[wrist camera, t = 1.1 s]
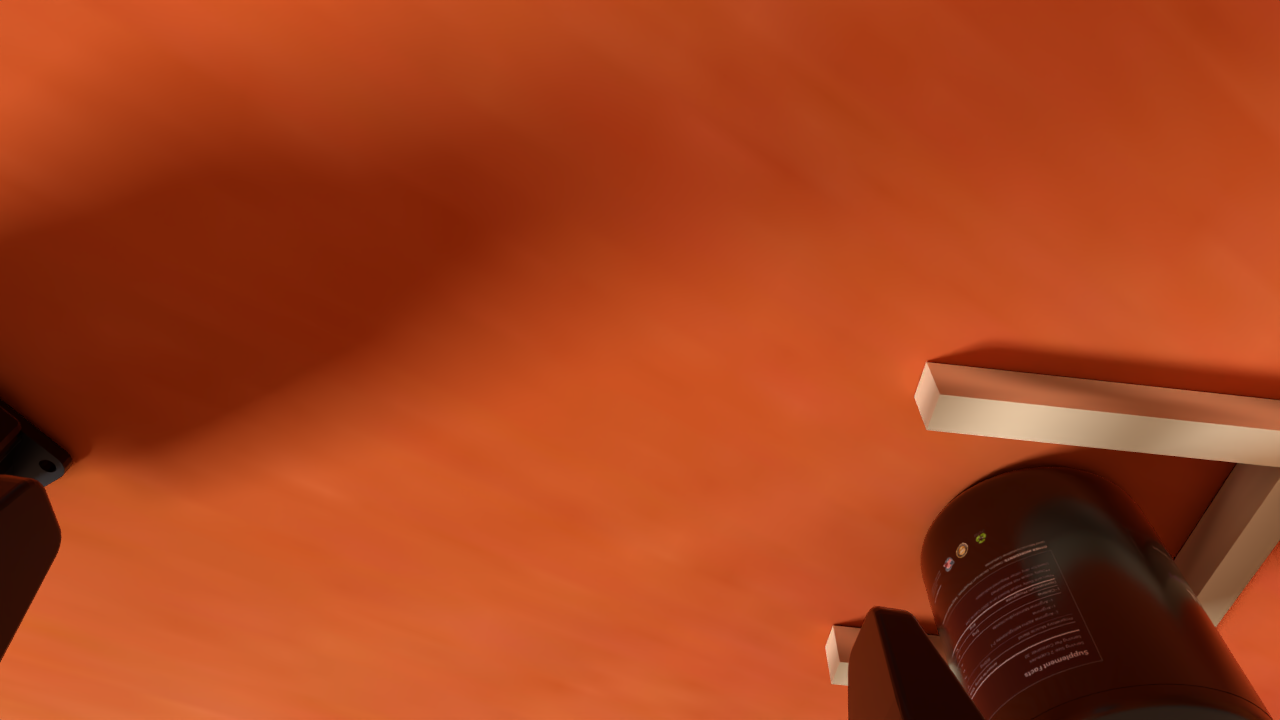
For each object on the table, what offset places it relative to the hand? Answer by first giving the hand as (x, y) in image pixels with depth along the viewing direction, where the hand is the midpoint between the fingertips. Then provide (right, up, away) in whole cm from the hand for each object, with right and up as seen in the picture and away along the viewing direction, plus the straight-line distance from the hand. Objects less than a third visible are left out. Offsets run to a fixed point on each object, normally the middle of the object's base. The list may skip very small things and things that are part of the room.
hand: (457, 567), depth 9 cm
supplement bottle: (+14, -3, +18) cm, 24 cm away
